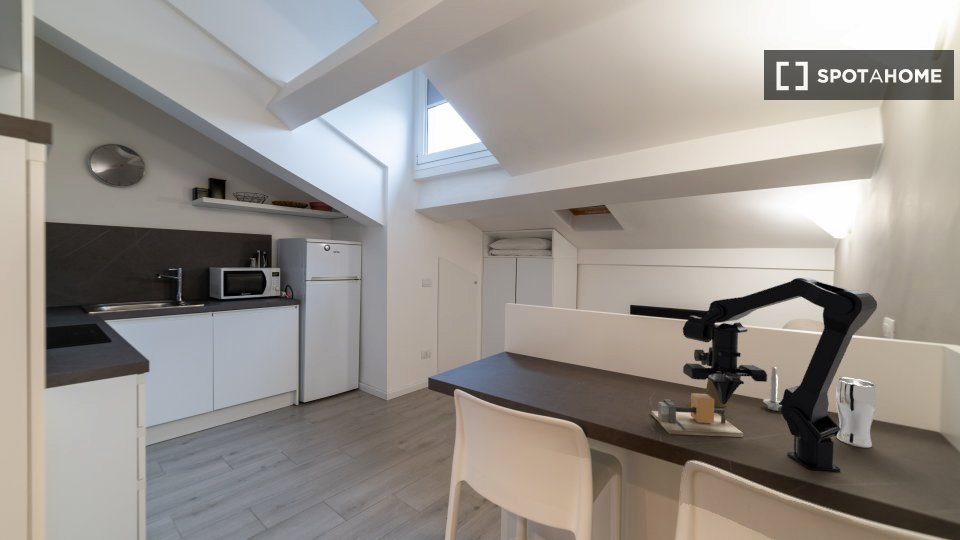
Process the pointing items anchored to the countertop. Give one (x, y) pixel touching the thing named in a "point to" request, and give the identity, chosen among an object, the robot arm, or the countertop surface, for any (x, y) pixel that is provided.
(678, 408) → the board
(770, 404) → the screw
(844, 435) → the silver metal tumbler
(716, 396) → the olive green shaker
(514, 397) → the countertop surface
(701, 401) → the orange block
